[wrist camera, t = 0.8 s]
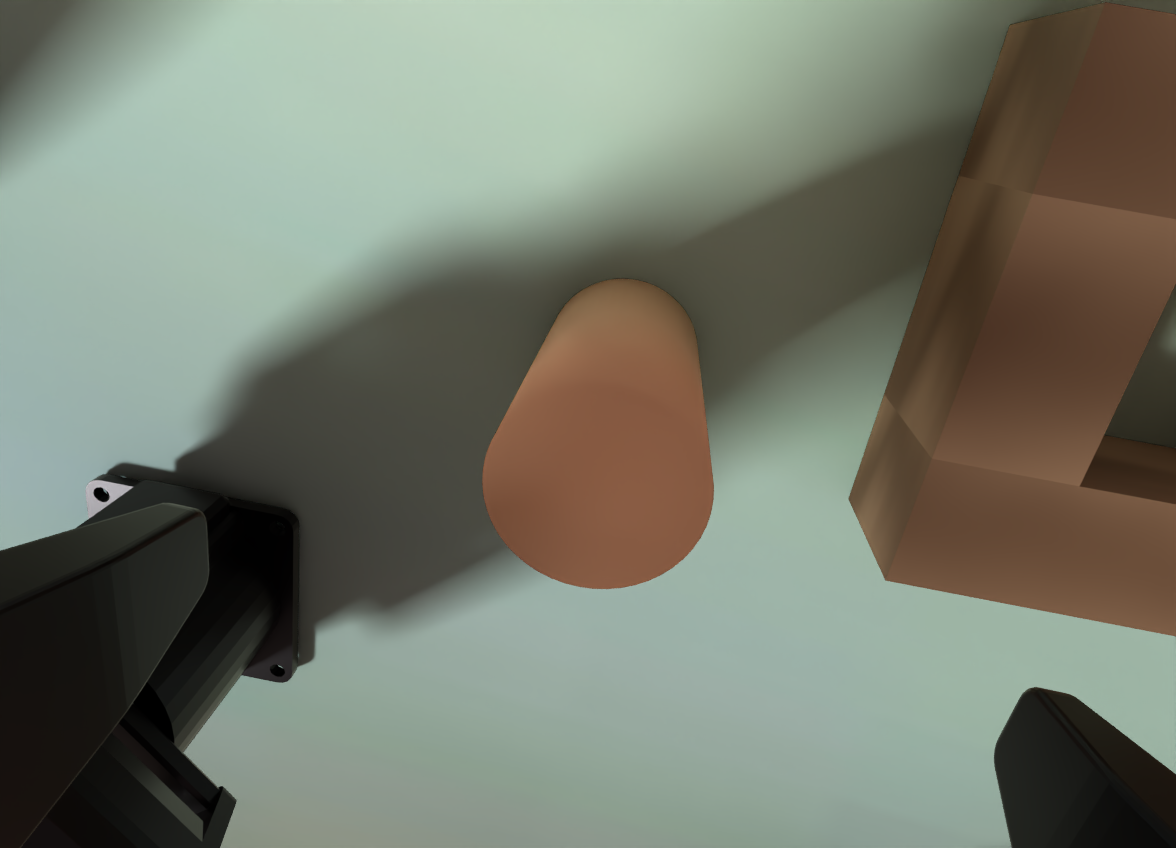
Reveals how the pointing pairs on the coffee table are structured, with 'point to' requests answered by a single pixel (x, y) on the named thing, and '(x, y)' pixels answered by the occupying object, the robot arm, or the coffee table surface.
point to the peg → (605, 443)
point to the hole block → (1041, 339)
